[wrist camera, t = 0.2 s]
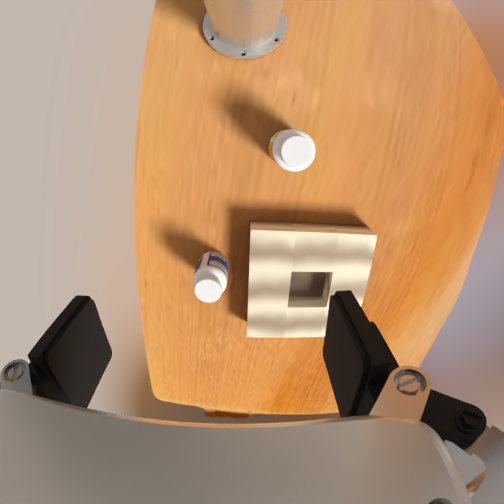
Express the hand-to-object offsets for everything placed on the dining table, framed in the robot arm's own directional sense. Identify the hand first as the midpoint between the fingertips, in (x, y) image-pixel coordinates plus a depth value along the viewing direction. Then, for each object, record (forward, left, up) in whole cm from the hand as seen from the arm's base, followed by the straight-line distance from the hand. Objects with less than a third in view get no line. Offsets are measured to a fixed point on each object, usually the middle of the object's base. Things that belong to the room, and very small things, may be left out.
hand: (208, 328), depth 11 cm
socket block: (+17, +12, -36) cm, 42 cm away
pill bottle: (+15, -4, -37) cm, 40 cm away
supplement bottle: (-5, +7, -37) cm, 37 cm away
